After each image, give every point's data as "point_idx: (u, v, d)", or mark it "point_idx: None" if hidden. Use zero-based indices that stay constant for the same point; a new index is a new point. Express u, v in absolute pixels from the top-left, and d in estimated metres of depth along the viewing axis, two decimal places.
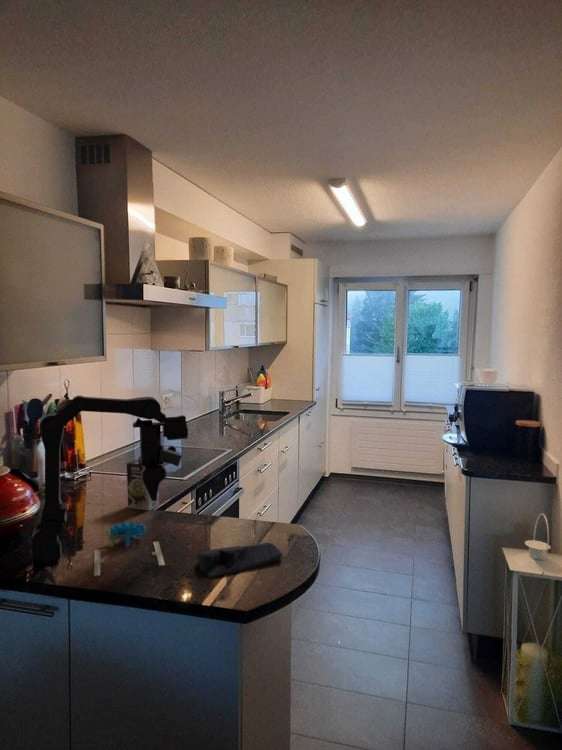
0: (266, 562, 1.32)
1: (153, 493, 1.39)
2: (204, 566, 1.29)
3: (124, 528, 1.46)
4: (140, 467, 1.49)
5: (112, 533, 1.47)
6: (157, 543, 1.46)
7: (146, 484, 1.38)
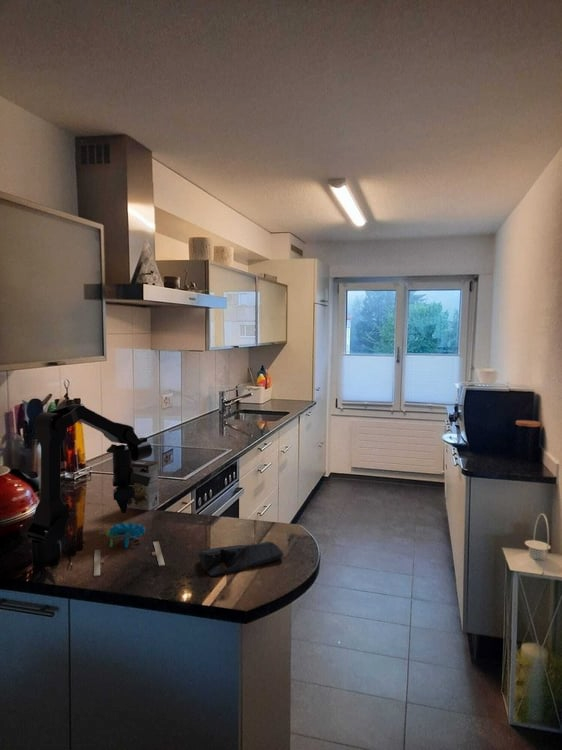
0: (267, 561, 1.33)
1: (123, 507, 1.59)
2: (205, 564, 1.29)
3: (123, 528, 1.45)
4: None
5: (112, 533, 1.47)
6: (157, 543, 1.46)
7: (117, 499, 1.57)
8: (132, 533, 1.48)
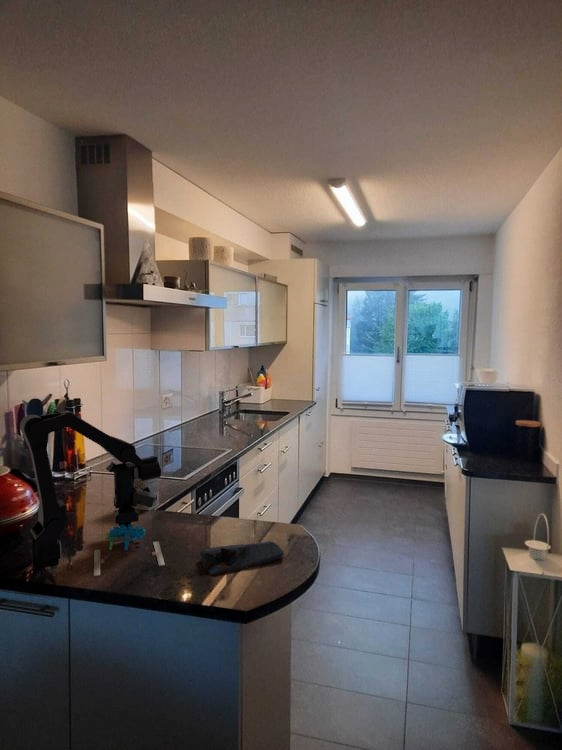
0: (267, 560, 1.33)
1: None
2: (205, 563, 1.30)
3: (123, 531, 1.44)
4: (115, 512, 1.49)
5: (111, 536, 1.45)
6: (157, 543, 1.46)
7: None
8: (132, 535, 1.46)
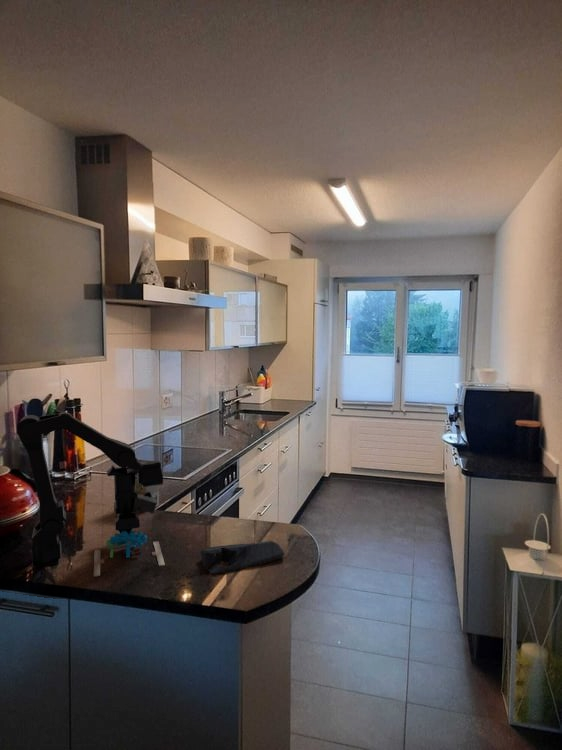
0: (268, 560, 1.33)
1: None
2: (206, 562, 1.31)
3: (124, 538, 1.39)
4: (116, 518, 1.45)
5: (112, 543, 1.40)
6: (157, 543, 1.46)
7: None
8: (133, 542, 1.42)
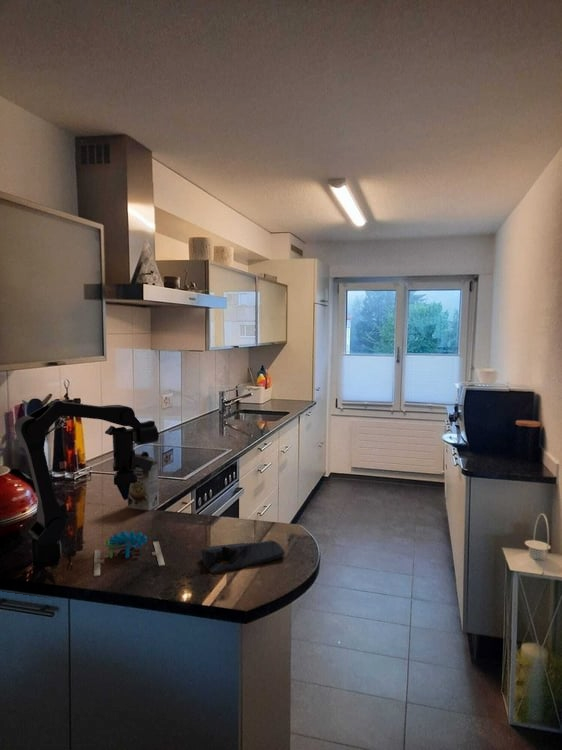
0: (268, 559, 1.34)
1: (125, 493, 1.50)
2: (206, 561, 1.31)
3: (124, 538, 1.39)
4: None
5: (111, 543, 1.40)
6: (157, 543, 1.46)
7: (118, 484, 1.48)
8: (133, 543, 1.41)
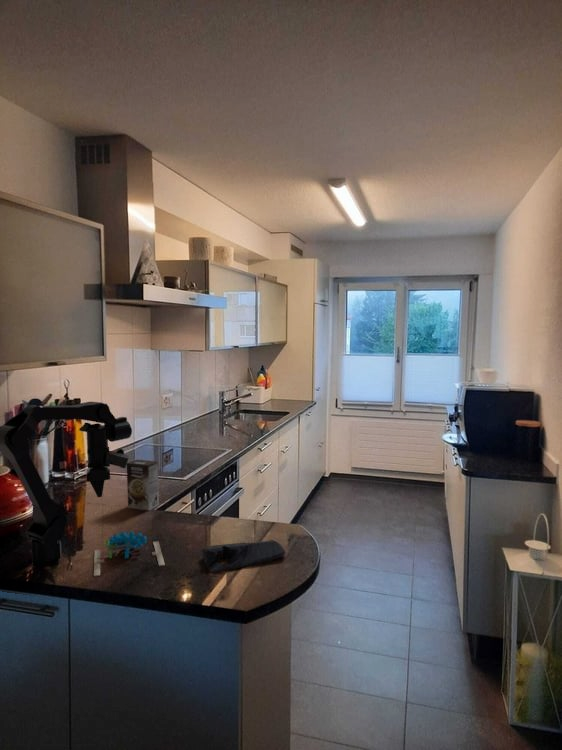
0: (268, 559, 1.34)
1: (99, 490, 1.48)
2: (207, 560, 1.32)
3: (123, 538, 1.38)
4: None
5: (111, 543, 1.40)
6: (157, 543, 1.46)
7: (91, 482, 1.47)
8: (133, 543, 1.41)
